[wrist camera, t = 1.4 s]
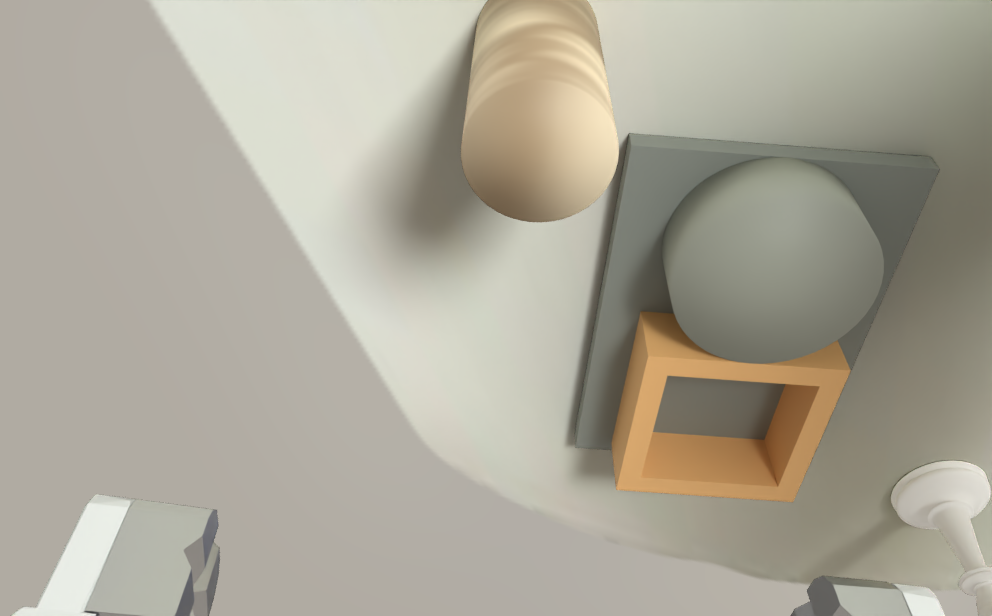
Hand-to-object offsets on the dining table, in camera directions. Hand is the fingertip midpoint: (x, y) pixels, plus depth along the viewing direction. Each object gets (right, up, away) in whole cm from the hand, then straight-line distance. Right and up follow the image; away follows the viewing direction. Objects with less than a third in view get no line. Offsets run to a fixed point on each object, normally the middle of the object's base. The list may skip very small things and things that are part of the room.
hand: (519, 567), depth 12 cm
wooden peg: (+1, +13, +20) cm, 24 cm away
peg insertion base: (+10, +3, +28) cm, 30 cm away
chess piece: (+23, -6, +35) cm, 43 cm away
